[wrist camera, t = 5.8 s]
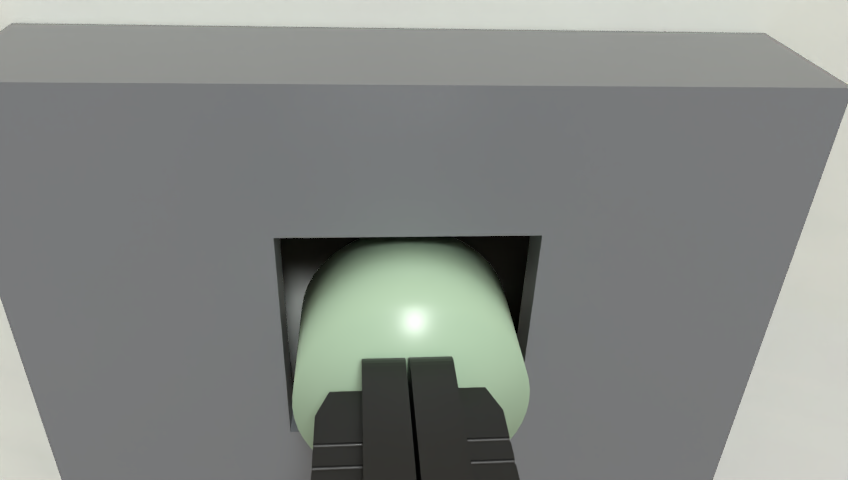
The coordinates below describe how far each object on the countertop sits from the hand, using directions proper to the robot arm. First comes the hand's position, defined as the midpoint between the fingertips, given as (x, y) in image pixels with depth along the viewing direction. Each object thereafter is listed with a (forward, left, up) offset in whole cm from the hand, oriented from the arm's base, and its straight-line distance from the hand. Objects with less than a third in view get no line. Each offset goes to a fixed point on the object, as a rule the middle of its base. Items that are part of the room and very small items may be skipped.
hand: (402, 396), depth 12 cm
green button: (0, 0, -2) cm, 2 cm away
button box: (0, +7, -5) cm, 9 cm away
